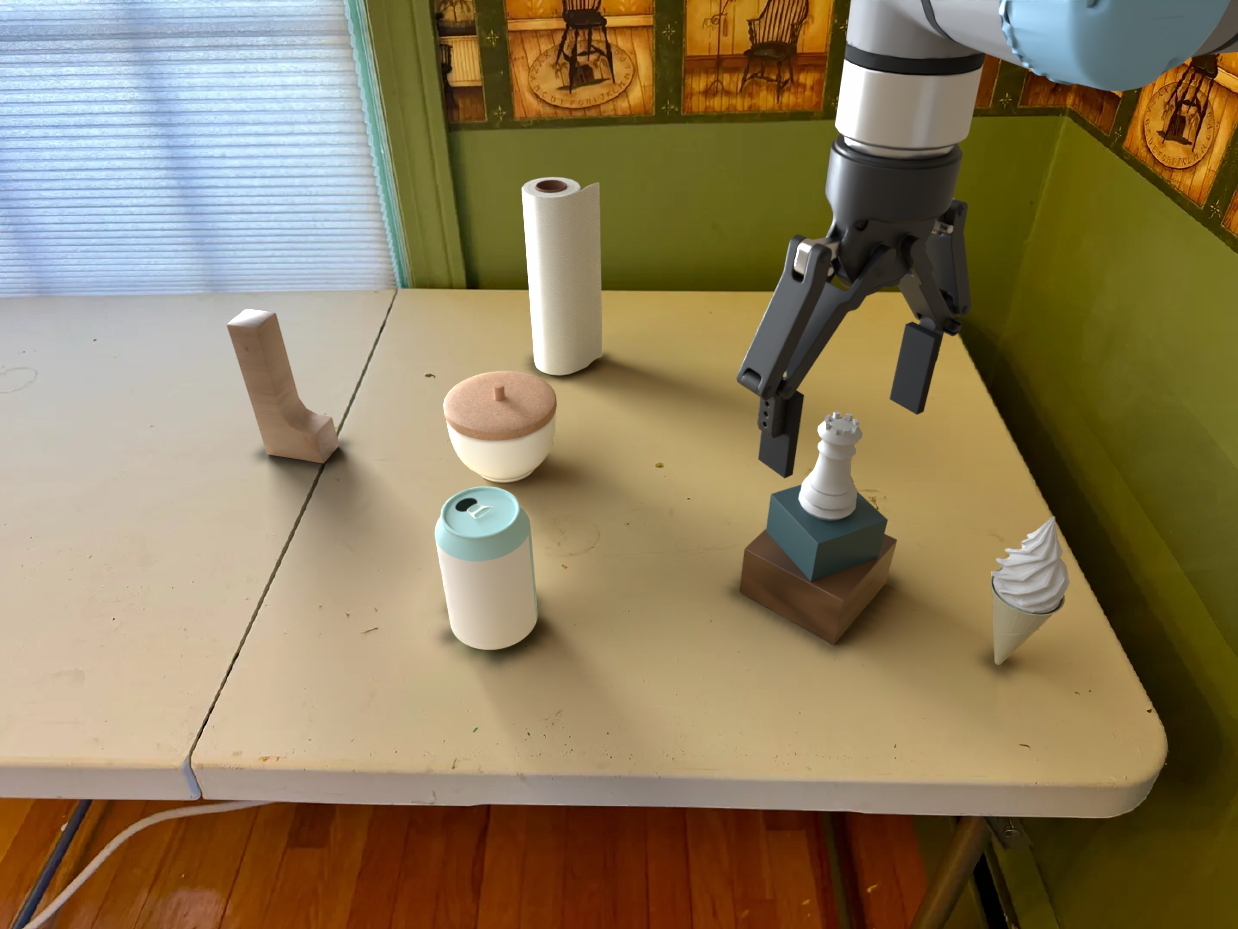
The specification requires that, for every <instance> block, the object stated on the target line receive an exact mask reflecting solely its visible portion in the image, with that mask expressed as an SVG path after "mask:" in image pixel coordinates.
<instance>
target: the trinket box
mask: <svg viewBox="0 0 1238 929" xmlns="http://www.w3.org/2000/svg"><path fill="white" fill-rule="evenodd" d="M557 402H558V400H557V394H556V392H555V389H554V388H553V387H552V386H551V384H549V383H548V382H547V381H546V380H544V379H543V378H541V377H539V376H537V375H534V374H531V373H527V372H522V371H515V370H495V371H488V372H483V373H479V374H476V375H473V376H470V377H467V378H466V379H463V380H462V381H460V382H459V383H457V384H455V385H454V386H453V387H452V388H451V389H450V390H449V391H448V392H447V394H446V396H445V397H444V401H443V406H442V408H443V414H444V419H445V421H446V426H447V430H448V431H447V432H448V435H449V438H450V442H451V444H452V448H453V449H454V451H455V453H456V455H457V456H458V457H459V459H460V461H461V462H462V463H463V464H464V465H465V466H466V467H467V468H468V469H470V470H471V471H473V472H474V473H476V474H478V475H479V476H480V477H482V478H483V479H484V480H486V481H490V482H493V483H500V484H501V483H502V484H503V483H504V484H505V483H513V482H518V481H521V480H523V479H525V478H527V477H529V476H530V475H531V474H532V473H533V472H534V471H535V470H536V469H537V468H538V467H539V466H540V465H541V464H542V463H543V462H544V461H545V459H546V458H547V457H548V455H549V454H550V451H551V450H552V447H553V444H554V440H555V436H556V429H557V409H558V408H557V407H558V403H557Z"/></svg>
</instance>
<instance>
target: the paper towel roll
mask: <svg viewBox="0 0 1238 929" xmlns="http://www.w3.org/2000/svg"><path fill="white" fill-rule="evenodd" d="M600 194H601V192H600V182H599V181H598V182H594V183H592V184H589V185H587V186H585V187H584V188H582V189H581V185H580V184H579V182H578V181H576V180H574V179H571V178H568V177H567V178H566V177H558V176H549V177H548V176H547V177H539V178H534V179H531V180H528V181H527V182H526V183H524V184H523V186H521V195H522V206H523V207H522V209H523V222H524V234H525V235H524V237H525V250H526V265H527V276H528V278H527V279H528V291H529V303H530V304H529V305H530V319H531V329H532V330H531V332H532V345H533V346H532V347H533V360H534V364H535V367H536V369H538V370H539V371H540V372H542V373H544V374H547V375H552V376H565V375H570V374H573V373H577V372H579V371H581V370H583V369H586V368H587V367H589V365H590V364H591V363H593V362H594V361H595V360H598V359H599V358H602V357H603V356H604V355H603V354H604V353H603V306H602V305H603V303H602V302H603V301H602V254H601V253H602V252H601V250H602V247H601V245H602V244H601V197H600V196H601V195H600Z"/></svg>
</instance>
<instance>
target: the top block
mask: <svg viewBox="0 0 1238 929" xmlns="http://www.w3.org/2000/svg"><path fill="white" fill-rule="evenodd" d="M801 486H802V483H801V484H798V485H795V486H792V487H789V488H786V489H781V490H778V491H776V492H773V493H770V498H769V504H768V513H767V519H766V527H765V529H766V532H767V533H768V534H769V535H770V536H771V537H772V538H773V540H774V541H775V542H776V543H777V544H778V545H779V546H780V547H781V549H782V550H783V551H784V552H785V553H786V554H787V555H788V556H789V558H790V559H791V560H792V561H793V562H794V563H795V564H796V565H797V567H798V568H799V569H800V570H801V571H802V572H803V573H804V574H805V576H806V577H807V578H808V579H809V580H810V581H811V582H812V581H815V580H817V579H820V578H823V577H826V576H828V575H831V574H834V573H837V572H840V571H842V570H845V569H848V568H851V567H853V566H856V565H859V564H862V563H864V562H867V561H870V560H873V559H876V558H878V557H879V554H880V550H881V546H882V542H883V538H884V534H886V530H887V525H888V521H889V519H887V517H885V516H884V515H883V514H882V512H880V511H879V510H878V509H877V508H876V507H875V506H874V505H872V503H871V502H869V501H868V500H867V499H866V498H865V497H864V496H863V495H862V494H861V493H860V492H859V491H857V499H856V508H855V510H854V511H853V512H852V513H851V514H850V515H848V516H847V517H845V518H842V519H840V520H834V521H827V520H821V519H818V518H816V517H813V516H811V515H810V514H809V513H808V512H806V511H805V510H804V508H803V507H802V506H801V503H800V501H799V494H800V491H801Z"/></svg>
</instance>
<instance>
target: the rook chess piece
mask: <svg viewBox="0 0 1238 929" xmlns="http://www.w3.org/2000/svg"><path fill="white" fill-rule="evenodd" d="M853 416H854V414H851V413H849V412H846V413H845V415H844V417H843V416H841V411H833V413H832V414H830V413H828V414H826V415H825V416H824V421H822V422H821V423H820V424H819V425H818V426H817V431H816V432H817V433H818V435H819V437H820V438H821V440H820V441H819V442H818V443H817V450H818V452H819V453H818V458H817V460H816V464H815V466H814V468H813V470H812V471H811V472H810V473H808V476H806V477H805V479H804V480H803V481H802V482H801V484H802V486H801V491H800V494H799V501H800V503H801V506H802V507H803V508H804V510H805V511H806V512H808V513H809V514H810V515H811V516H813V517H816V518H818V519H821V520H827V521H834V520H840V519H842V518H845V517H847V516H848V515H850V514H851V513H852V512H853V511H854V510H855V508H856V499H857V492H858V489H857V487H856V485H855V483H854V482H855V481H854V479H853V477H852V460H853V457H854V456H855V455H856V453H857V448H856V447H855V445H856V444H858V443H859V442H860V441H861V439H863V431H862V430H861V427H860V421H859V418H853Z"/></svg>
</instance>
